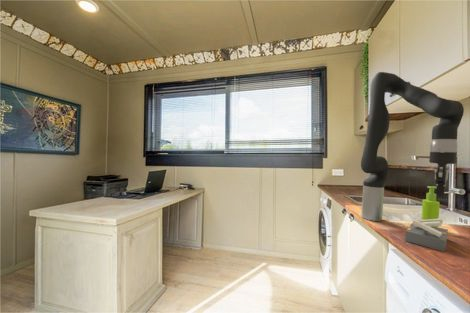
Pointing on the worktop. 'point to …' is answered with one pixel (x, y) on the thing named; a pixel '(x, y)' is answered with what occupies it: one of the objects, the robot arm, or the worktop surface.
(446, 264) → the worktop surface
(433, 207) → the soap dispenser
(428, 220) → the block
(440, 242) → the switch box
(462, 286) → the worktop surface
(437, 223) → the block
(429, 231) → the block
